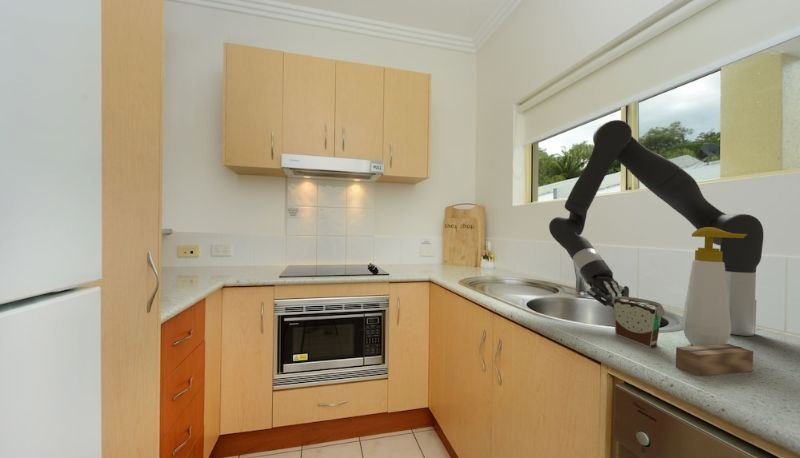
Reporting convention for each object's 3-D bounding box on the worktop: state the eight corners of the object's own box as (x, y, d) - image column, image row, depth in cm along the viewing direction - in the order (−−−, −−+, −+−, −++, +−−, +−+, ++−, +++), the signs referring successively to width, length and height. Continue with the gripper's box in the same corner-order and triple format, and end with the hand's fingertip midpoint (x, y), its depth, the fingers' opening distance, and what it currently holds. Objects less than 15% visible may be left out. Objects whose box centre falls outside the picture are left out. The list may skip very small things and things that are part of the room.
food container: (677, 349, 74) (679, 306, 74) (656, 350, 72) (658, 307, 72) (629, 331, 86) (630, 295, 86) (610, 332, 84) (611, 295, 84)
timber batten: (728, 362, 66) (728, 343, 66) (752, 371, 63) (753, 350, 63) (675, 366, 64) (676, 346, 64) (697, 375, 60) (698, 354, 60)
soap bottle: (738, 362, 67) (743, 226, 66) (675, 346, 75) (679, 226, 75) (746, 349, 74) (751, 228, 74) (688, 336, 83) (692, 227, 82)
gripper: (579, 258, 91) (615, 311, 79) (617, 258, 94) (657, 310, 82) (566, 274, 96) (597, 325, 84) (602, 273, 99) (637, 324, 87)
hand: (627, 318), depth 83 cm, fingers closed
